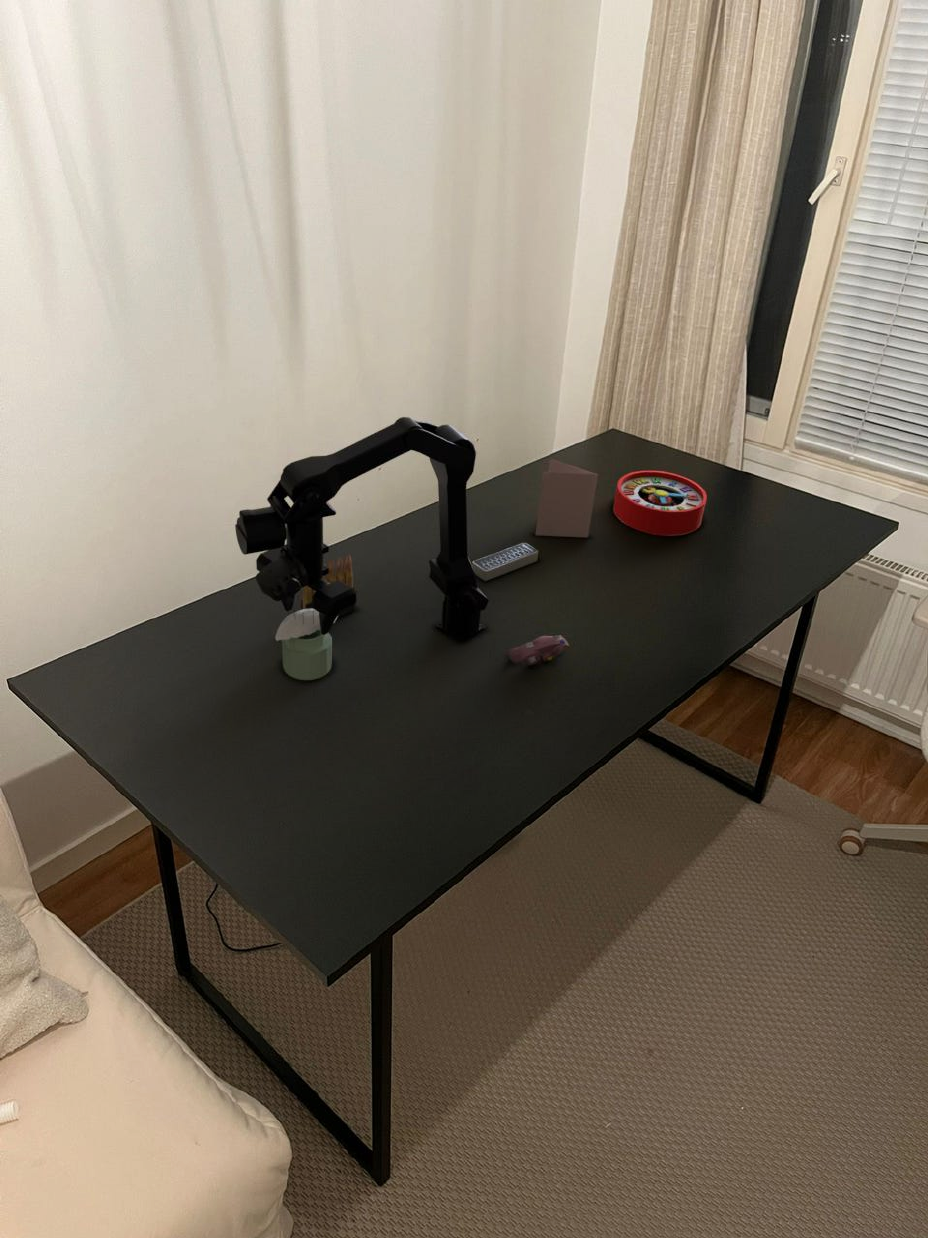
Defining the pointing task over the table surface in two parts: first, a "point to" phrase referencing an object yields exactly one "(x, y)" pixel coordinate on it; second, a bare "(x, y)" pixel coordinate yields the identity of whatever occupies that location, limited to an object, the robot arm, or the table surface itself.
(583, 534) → the greeting card
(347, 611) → the ammunition clip
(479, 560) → the multiport hub
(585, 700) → the table surface
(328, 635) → the pale green cup
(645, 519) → the toy clock
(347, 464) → the robot arm
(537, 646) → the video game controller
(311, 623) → the pincushion
